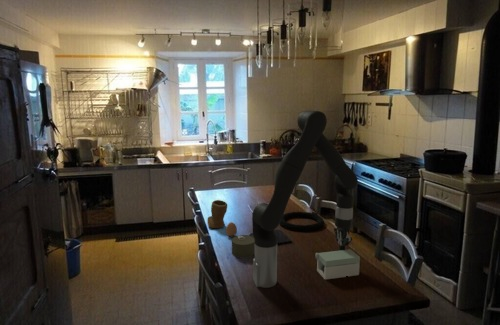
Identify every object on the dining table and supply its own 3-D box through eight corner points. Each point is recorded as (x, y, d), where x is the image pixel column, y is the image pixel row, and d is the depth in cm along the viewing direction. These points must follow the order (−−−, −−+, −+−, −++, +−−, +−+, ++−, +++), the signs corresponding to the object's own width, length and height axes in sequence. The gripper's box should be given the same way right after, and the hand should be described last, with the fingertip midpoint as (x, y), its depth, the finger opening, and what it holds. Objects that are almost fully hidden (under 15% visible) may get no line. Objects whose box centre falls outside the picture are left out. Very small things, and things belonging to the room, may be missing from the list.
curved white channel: (325, 279, 149) (325, 267, 148) (316, 270, 156) (317, 259, 155) (358, 274, 153) (359, 263, 152) (349, 266, 160) (350, 255, 159)
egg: (225, 238, 192) (225, 224, 191) (226, 234, 198) (226, 220, 197) (236, 238, 192) (236, 224, 191) (237, 234, 198) (237, 220, 197)
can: (236, 259, 167) (236, 246, 166) (227, 250, 178) (227, 237, 176) (259, 255, 172) (259, 242, 171) (249, 246, 183) (249, 233, 181)
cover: (323, 267, 148) (323, 261, 147) (314, 257, 156) (314, 252, 156) (359, 262, 152) (360, 256, 151) (348, 253, 160) (349, 248, 160)
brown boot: (228, 229, 206) (227, 204, 203) (207, 230, 204) (207, 205, 201) (226, 220, 220) (226, 197, 218) (207, 220, 219) (206, 197, 216)
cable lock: (269, 218, 214) (298, 207, 235) (269, 224, 214) (297, 212, 236) (307, 229, 195) (335, 216, 217) (307, 236, 196) (334, 222, 217)
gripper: (329, 211, 162) (327, 247, 166) (343, 221, 150) (341, 259, 153) (344, 210, 164) (341, 245, 167) (359, 220, 151) (356, 257, 155)
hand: (341, 252), depth 160 cm, fingers closed
